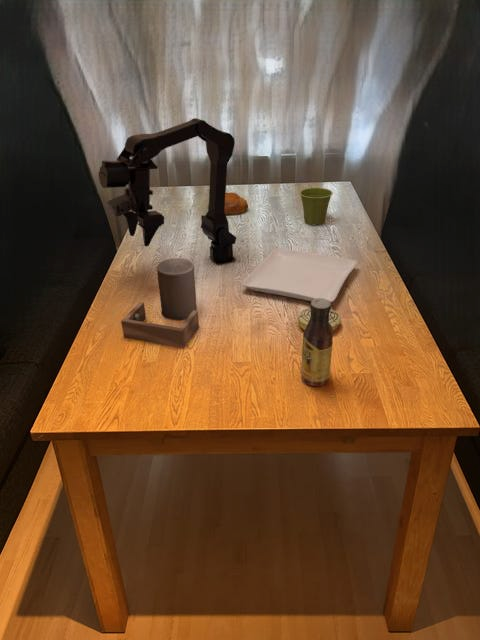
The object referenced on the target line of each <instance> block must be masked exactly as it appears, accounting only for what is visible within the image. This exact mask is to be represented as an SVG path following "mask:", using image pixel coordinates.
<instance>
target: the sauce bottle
mask: <svg viewBox="0 0 480 640" xmlns="http://www.w3.org/2000/svg"><path fill="white" fill-rule="evenodd" d="M331 306H332V302H331V303H330V301H329V300H327V299H324V298H317V299H314V300H312V301H310V306H309V307H310V309H311V317H310V320H309V323H308V325H307V327H306V329H305V331H304V330H303V334H302V347H301V352H302V353H301V367H300V368H301V369H300V374H301V379H302V382H304V383H305V384H306V385H308V386H312V387H320V386H324V385H325V384H327V383H328V381H329V377H330V373H331V366H332V365H331V363H332V354H333V353H332V352H333V341H334V340H333V338H334V332H333V329H332V327H331V325H330V324H329V311H330V310H331V309H332V308H331Z"/></svg>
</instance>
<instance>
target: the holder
mask: <svg viewBox="0 0 480 640" xmlns="http://www.w3.org/2000/svg"><path fill="white" fill-rule="evenodd" d="M146 315H147V314H146V309H145V302H142V301H139V302H138V303H137V304H136V305H134V307H133V308H132V309H131V310H130V311H129V312H128V313H127V314H126V315H125V316H124V318H122V319H121V320H120V322H121V323H120V324H121V330H122V334H123V338H124V339H128V340H133V341H140V342H143V343H144V342H146V343H151V344H157V345H163V346H168V347H173V348H180V349H185V348H186V346H187V345H188V343H189V342H190V341H191V340H192V338H193V337H194V335H195V334H196V332H197V331H198V330H199V328H200V323H199V322H200V321H199V311H198V310H197V311H196V310H193V311H192V313H191V314H190V315H189V316H188V318H187V319H184V321H182V324H181V325H180V327H176V326H172V325H171V326H170V325H166V324H158V323H152V322H147V321H146V320H147V316H146Z"/></svg>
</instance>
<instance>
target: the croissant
mask: <svg viewBox="0 0 480 640" xmlns="http://www.w3.org/2000/svg"><path fill="white" fill-rule="evenodd" d="M248 207H249V203H248V201H247V200H246V199H245V198H244V197H241V196H240V195H239V194H237V193H236V192H226V194H225V215H226V216H228V215H229V214H230V215H238V214H242V213H244V212H246V211H247V209H248ZM208 209H209V203H208V205H207V210H208ZM237 213H238V214H237Z"/></svg>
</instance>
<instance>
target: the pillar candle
mask: <svg viewBox="0 0 480 640" xmlns="http://www.w3.org/2000/svg"><path fill="white" fill-rule="evenodd" d="M156 271H157V283H158V290H159V300H160V308H161V311H160V312H161V315H162V316H163V317H164V318H166V319H168V320H171V321H183V320H184V321H185V320H186V319H187V318H188V316H189V315H190V314H191V313H192V311H193V310H196V311H198V309H197V308H198V307H197V294H196V293H197V292H196V291H197V290H196V280H195V279H196V278H195V264H194V262H193V261H192V260H190V259H188V258H183V257H182V258H181V257H173V258H167V259H164V260H162V261H160V262H158V264H157V265H156Z"/></svg>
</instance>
